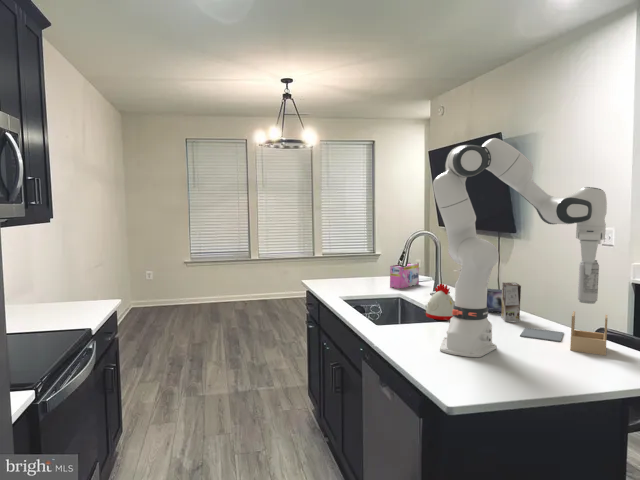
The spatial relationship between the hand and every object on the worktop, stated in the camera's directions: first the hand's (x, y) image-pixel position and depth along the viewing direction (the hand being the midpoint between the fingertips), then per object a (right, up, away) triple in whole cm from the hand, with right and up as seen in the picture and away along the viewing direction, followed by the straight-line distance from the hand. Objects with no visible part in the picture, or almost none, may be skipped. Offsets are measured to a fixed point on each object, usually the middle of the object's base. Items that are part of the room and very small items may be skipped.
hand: (588, 273), depth 163 cm
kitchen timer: (-39, -24, +50) cm, 67 cm away
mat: (-7, -26, +19) cm, 33 cm away
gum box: (-41, -18, +131) cm, 139 cm away
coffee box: (-10, -24, +44) cm, 51 cm away
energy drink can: (0, -11, +1) cm, 11 cm away
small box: (-10, -23, +59) cm, 64 cm away
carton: (+1, -27, +1) cm, 27 cm away
